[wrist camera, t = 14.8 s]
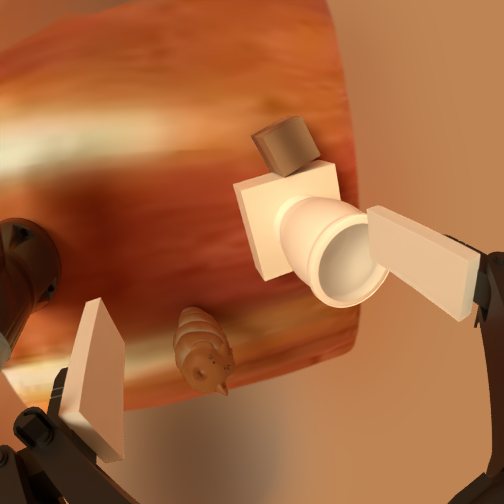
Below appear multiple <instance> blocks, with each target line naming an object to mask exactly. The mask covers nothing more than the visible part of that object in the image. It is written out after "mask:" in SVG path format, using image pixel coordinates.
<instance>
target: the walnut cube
mask: <svg viewBox="0 0 504 504" xmlns="http://www.w3.org/2000/svg"><path fill="white" fill-rule="evenodd" d="M251 137H252V139H253V141H254V142H255V144H256V146H257V148H258V150H259V151H260V153H261V155H262V157H263V159H264V160H265V162H266V164H267V166H268V168H269V169H270V171H272V172H274V173H276V174H278V175H280V176H283V177H285V176H287V175H289V174H290V173H292V172H294V171H295V170H297V169H299V168H300V167H302V166H304V165H305V164H307V163H309V162H310V161H312V160H314V159H315V158H317V157H319V156H321V155H320V153H319V151H318V149H317V146H316V144H315V142H314V140H313V138H312V136H311V134H310V132H309V130H308V128H307V126H306V124H305V122H304V120H303V118H302V116H294V117H284V118H282V119H281V120H279V121H277V122H275V123H273V124H271V125H270V126H268V127H266V128H264V129H262V130H261V131H259V132H257V133H255V134H254V135H252V136H251Z"/></svg>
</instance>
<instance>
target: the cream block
mask: <svg viewBox="0 0 504 504" xmlns="http://www.w3.org/2000/svg"><path fill="white" fill-rule="evenodd" d="M233 186H234V190H235V193H236V197H237V201H238V204H239V208H240V212H241V215H242V219H243V223H244V226H245V230H246V234H247V237H248V241H249V245H250V248H251V252H252V256H253V259H254V263H255V267H256V269H257V270H258V272H259V273H260V275H261V276H262V278H263V279H264V281H267V280H270V279H273V278H275V277H278V276H281V275H284V274H286V273H289V272H292V271H293V269H292V268H291V266H290V264H289V262H288V260H287V258H286V256H285V254H284V252H283V249H282V247H281V245H280V244H279V242H278V241H277V239H276V237H275V234H274V220H275V216H276V214H277V212H278V210H279V208H280V207H281V206H282V205H283V204H284V203H285V202H286V201H287V200H288V199H290V198H292V197H294V196H296V195H301V194H309V195H313V196H315V197H323V198H331V199H337V200H340V201H341V199H340V192H339V186H338V180H337V174H336V168H335V164H333V163H330V162H326V161H322V160H316V161H312V162H309V163H307V164H305V165H304V166H302V167H300V168H299V169H297V170H295V171H294V172H292V173H290V174H289V175H287V176H285V177H283V176H280V175H278V174H276V173H274V172H272V173H269V174H266V175H262V176H259V177H255V178H252V179H249V180H245V181H242V182H239V183H236V184H233Z"/></svg>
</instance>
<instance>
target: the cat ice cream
mask: <svg viewBox="0 0 504 504" xmlns="http://www.w3.org/2000/svg"><path fill="white" fill-rule="evenodd" d="M173 345H174V351H175V361H176V365H177V367H178V368H179V370H180V372H181V373H182V374H183V375H184V378H185V380H186V382H187V383H188V385H189V386H190V387H191V388H192V389H194V390H196V391H198V392H201V393H211V392H214V391H216V390H217V391H218V392H220V393H221V394H224V395H226V396H227V395H228V390H227V386H226V379H227V377H228V376H230V375H231V373H232V372H233V370H234V367H235V363H234V360H233V354H232V349H231V348H230V347H229V343H228V341H227V338H226V336H225V334H224V333H223V332H222V329H221V327H220V325H219V324H218V323H217V322H216V321H215V319H214V317H213V316H212V315H210V314H208V313H206V312H205V311H203V310H202V309H200V308H199V307H195V306H190V307H187V308H185V309H183V311H182V312H181V315H180V317H179V320H178V325H177V329H176V332H175V335H174V339H173Z"/></svg>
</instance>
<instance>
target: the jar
mask: <svg viewBox="0 0 504 504" xmlns="http://www.w3.org/2000/svg"><path fill="white" fill-rule="evenodd" d="M274 234H275V237H276V239H277V241H278V242H279V244H280V245H281V247H282V249H283V252H284V254H285V256H286V258H287V260H288V262H289V264H290V266H291V268H292V269H293V271H294V272H295V273H296V274H297V276H298V277H299V278H300V279H301V280H302V281H303V282H305V283H306V284H307V285H308V286H310V287H311V290H312V291H313V293H314V294H315V296H316V297H317V298H318V299H319V300H321V301H322V302H323V303H325V304H327V305H329V306H332V307H337V308H345V307H350V306H354V305H356V304H359V303H361V302H363V301H364V300H366V299H367V298H369V297H370V296H371V295H372V294H373V293H374V292H375V291H376V290H377V289H378V288H379V287H380V286H381V284H382V283H383V282H384V280H385V278H386V277H387V274H388V273H389V270H387V269H386V268H384V267H383V266H381V265H380V264H378V263H377V262H376V261H374V260H373V259H371V258H370V247H369V232H368V219H367V214H366V213H363V212H361V211H360V210H359V209H357V208H356V207H354V206H352V205H350V204H348V203H346V202H343V201H340V200H337V199H331V198H323V197H315V196H313V195H309V194H301V195H296V196H294V197H292V198H290V199H288V200H287V201H286V202H285V203H284V204H283V205H282V206H281V207H280V208H279V210H278V212H277V214H276V216H275V220H274Z"/></svg>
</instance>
